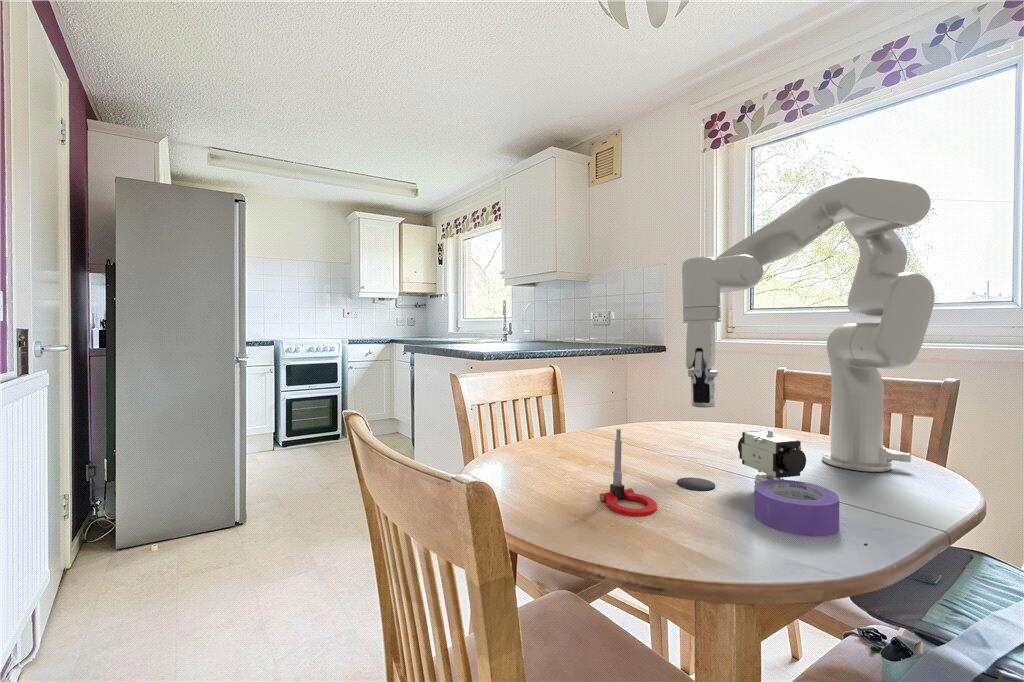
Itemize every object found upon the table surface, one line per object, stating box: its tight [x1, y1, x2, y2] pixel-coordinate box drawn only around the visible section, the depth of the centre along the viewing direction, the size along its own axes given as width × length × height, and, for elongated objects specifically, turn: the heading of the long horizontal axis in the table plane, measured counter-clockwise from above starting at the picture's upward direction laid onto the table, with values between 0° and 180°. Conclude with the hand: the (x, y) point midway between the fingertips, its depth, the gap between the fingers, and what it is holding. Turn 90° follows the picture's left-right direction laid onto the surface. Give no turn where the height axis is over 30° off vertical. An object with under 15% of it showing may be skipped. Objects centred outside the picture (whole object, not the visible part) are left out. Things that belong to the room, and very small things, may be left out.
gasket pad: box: [676, 477, 716, 492], centre depth 95 cm, size 7×7×1 cm
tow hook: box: [599, 428, 658, 517], centre depth 83 cm, size 8×13×9 cm
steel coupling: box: [687, 368, 719, 409], centre depth 103 cm, size 6×6×8 cm
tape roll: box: [753, 479, 840, 538], centre depth 77 cm, size 12×12×5 cm
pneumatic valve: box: [737, 429, 807, 485], centre depth 88 cm, size 6×12×12 cm, turn 15°
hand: (703, 399), depth 103 cm, fingers closed on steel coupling, 4 cm apart
